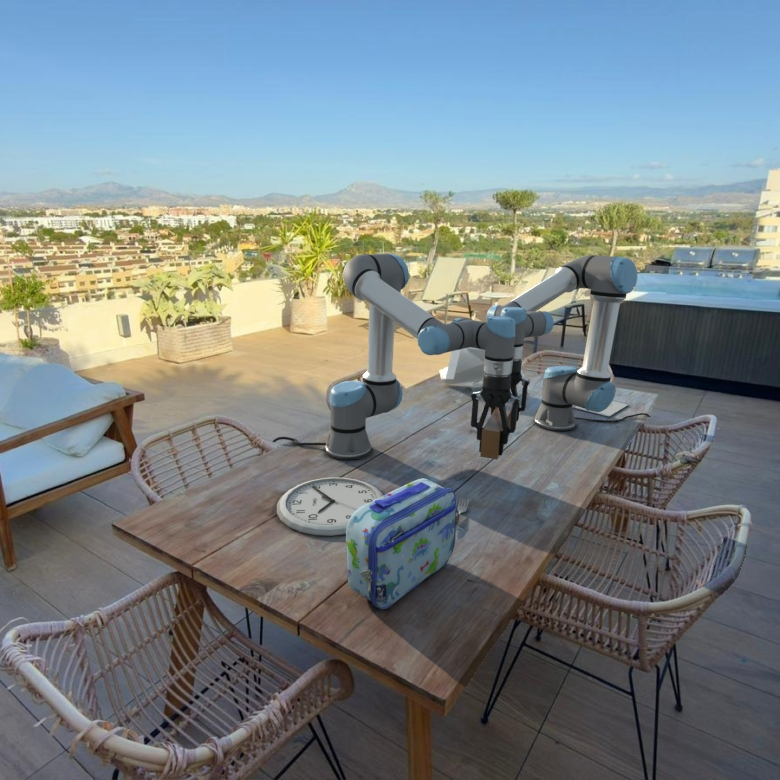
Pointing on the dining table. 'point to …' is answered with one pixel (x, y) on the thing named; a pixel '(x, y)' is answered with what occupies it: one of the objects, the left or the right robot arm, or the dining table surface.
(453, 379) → the white plastic object
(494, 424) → the bar
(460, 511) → the fork
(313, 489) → the wall clock
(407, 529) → the lunch box
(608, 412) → the invitation card
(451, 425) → the dining table surface
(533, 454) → the dining table surface
